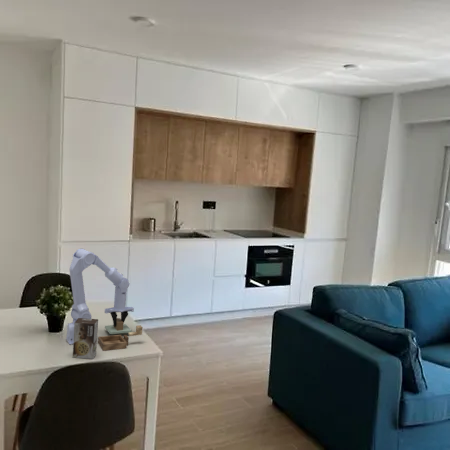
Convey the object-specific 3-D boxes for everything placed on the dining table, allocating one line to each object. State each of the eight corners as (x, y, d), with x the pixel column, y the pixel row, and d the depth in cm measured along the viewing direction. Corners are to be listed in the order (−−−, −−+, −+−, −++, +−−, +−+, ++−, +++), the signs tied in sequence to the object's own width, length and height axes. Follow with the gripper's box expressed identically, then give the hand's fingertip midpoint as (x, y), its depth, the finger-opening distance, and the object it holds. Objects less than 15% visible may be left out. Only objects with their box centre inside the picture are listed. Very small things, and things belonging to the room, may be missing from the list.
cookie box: (96, 353, 203) (99, 319, 201) (92, 359, 196) (95, 323, 195) (76, 351, 202) (78, 317, 201) (71, 357, 196) (74, 322, 194)
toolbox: (102, 350, 206) (103, 342, 206) (97, 342, 215) (98, 334, 214) (130, 347, 213) (130, 339, 212) (123, 340, 221) (124, 332, 221)
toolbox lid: (109, 334, 222) (110, 324, 222) (104, 327, 231) (105, 318, 230) (131, 332, 228) (132, 322, 227) (125, 325, 236) (126, 316, 236)
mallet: (129, 336, 215) (130, 328, 215) (128, 334, 218) (128, 326, 218) (141, 335, 218) (142, 327, 218) (139, 333, 221) (140, 325, 221)
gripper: (107, 303, 221) (106, 329, 222) (136, 301, 228) (134, 327, 229) (104, 299, 227) (102, 324, 228) (132, 297, 234) (130, 322, 235)
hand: (118, 325), depth 229 cm, fingers closed on toolbox lid, 3 cm apart
